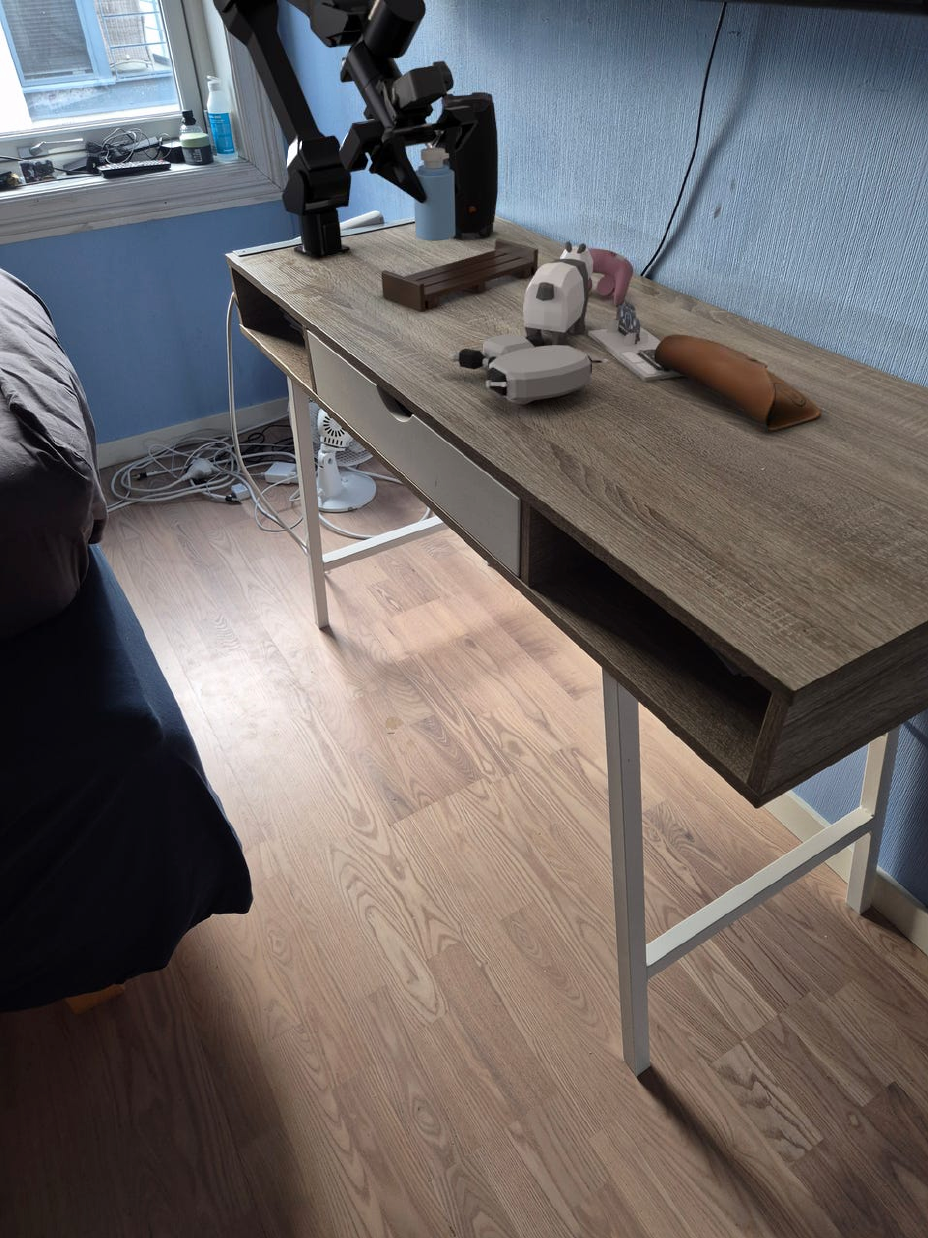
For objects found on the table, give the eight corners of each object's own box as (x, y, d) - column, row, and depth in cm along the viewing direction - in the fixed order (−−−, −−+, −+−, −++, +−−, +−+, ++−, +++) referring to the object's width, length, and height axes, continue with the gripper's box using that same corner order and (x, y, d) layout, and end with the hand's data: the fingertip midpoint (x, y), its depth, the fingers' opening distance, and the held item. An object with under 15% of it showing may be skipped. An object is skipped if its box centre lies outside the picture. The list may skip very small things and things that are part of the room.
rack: (382, 297, 118) (380, 271, 116) (498, 262, 129) (498, 237, 127) (421, 311, 113) (419, 284, 111) (537, 274, 125) (538, 248, 122)
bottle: (407, 235, 114) (403, 150, 107) (435, 227, 117) (432, 143, 110) (435, 243, 111) (432, 155, 105) (463, 234, 114) (462, 149, 108)
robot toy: (443, 380, 98) (508, 423, 86) (440, 340, 95) (507, 378, 84) (537, 360, 102) (611, 398, 91) (537, 320, 99) (613, 354, 88)
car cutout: (587, 334, 106) (590, 297, 103) (637, 327, 107) (641, 290, 105) (644, 381, 95) (649, 340, 92) (698, 373, 96) (705, 333, 93)
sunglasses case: (829, 411, 87) (819, 362, 82) (776, 457, 87) (762, 411, 82) (710, 348, 99) (695, 303, 94) (663, 389, 99) (646, 345, 94)
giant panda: (562, 355, 101) (567, 270, 95) (518, 348, 102) (520, 264, 97) (601, 315, 111) (607, 235, 105) (560, 309, 113) (564, 231, 107)
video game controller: (628, 310, 116) (640, 255, 115) (621, 305, 112) (632, 247, 111) (558, 301, 120) (569, 248, 118) (549, 295, 116) (559, 240, 114)
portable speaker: (489, 242, 138) (489, 100, 126) (434, 238, 140) (428, 98, 128) (503, 227, 144) (504, 91, 132) (450, 224, 147) (446, 90, 134)
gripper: (342, 42, 98) (408, 165, 98) (467, 30, 107) (527, 142, 108) (313, 113, 108) (372, 226, 108) (429, 97, 117) (484, 200, 117)
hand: (441, 197), depth 110 cm, fingers closed on bottle, 5 cm apart
